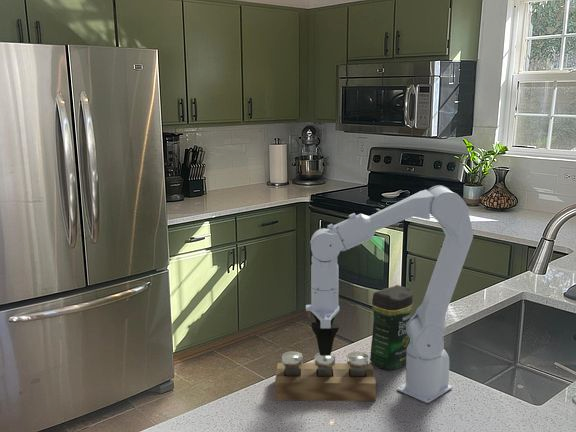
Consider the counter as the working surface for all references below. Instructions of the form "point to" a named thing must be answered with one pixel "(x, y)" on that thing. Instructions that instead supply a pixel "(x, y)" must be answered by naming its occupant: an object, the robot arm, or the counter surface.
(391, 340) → the coffee jar
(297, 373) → the knob
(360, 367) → the knob
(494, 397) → the counter surface
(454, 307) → the counter surface
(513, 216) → the counter surface
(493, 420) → the counter surface
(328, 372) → the middle knob
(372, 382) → the block
